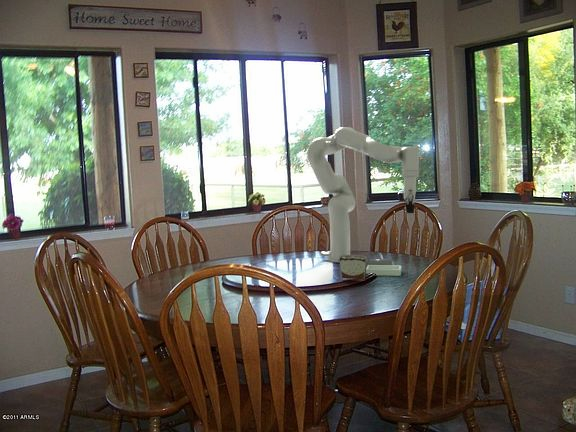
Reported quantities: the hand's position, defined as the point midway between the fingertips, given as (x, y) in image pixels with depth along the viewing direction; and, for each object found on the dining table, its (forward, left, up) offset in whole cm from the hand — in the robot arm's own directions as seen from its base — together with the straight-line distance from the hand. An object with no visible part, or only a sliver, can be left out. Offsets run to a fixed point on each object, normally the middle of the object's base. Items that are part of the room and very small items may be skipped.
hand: (410, 211), depth 293 cm
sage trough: (-11, -19, -25) cm, 33 cm away
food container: (-22, -33, -25) cm, 47 cm away
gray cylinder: (-13, -9, -25) cm, 29 cm away
